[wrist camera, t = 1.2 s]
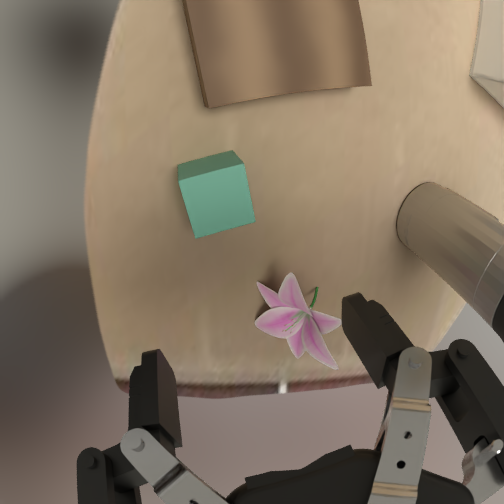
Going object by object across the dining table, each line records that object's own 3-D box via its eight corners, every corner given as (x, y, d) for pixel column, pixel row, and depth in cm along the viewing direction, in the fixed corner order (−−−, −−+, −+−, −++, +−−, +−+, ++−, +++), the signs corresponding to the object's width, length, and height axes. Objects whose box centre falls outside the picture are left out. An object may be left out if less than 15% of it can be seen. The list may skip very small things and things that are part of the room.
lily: (284, 227, 33) (262, 291, 26) (374, 275, 33) (374, 343, 26) (245, 291, 41) (221, 350, 34) (321, 327, 41) (310, 388, 34)
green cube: (232, 150, 26) (244, 163, 22) (243, 200, 29) (255, 221, 25) (177, 164, 26) (178, 181, 22) (191, 214, 29) (195, 238, 24)
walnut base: (324, -41, 18) (344, -53, 15) (348, 83, 26) (371, 85, 22) (175, -33, 17) (175, -50, 13) (204, 105, 24) (209, 108, 21)
